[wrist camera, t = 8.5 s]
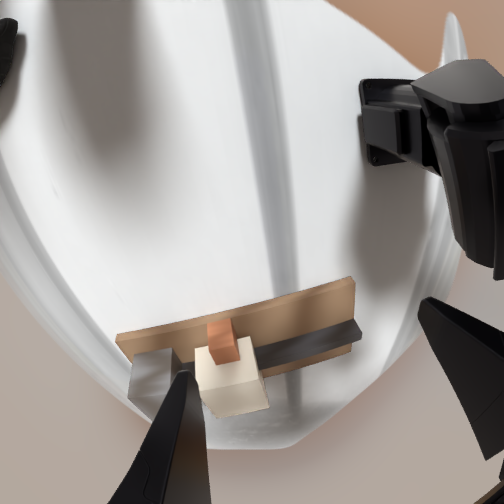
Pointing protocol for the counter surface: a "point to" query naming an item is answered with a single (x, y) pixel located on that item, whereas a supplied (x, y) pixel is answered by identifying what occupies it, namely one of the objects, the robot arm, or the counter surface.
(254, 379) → the sleeve
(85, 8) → the counter surface
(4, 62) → the tape measure
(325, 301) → the board
